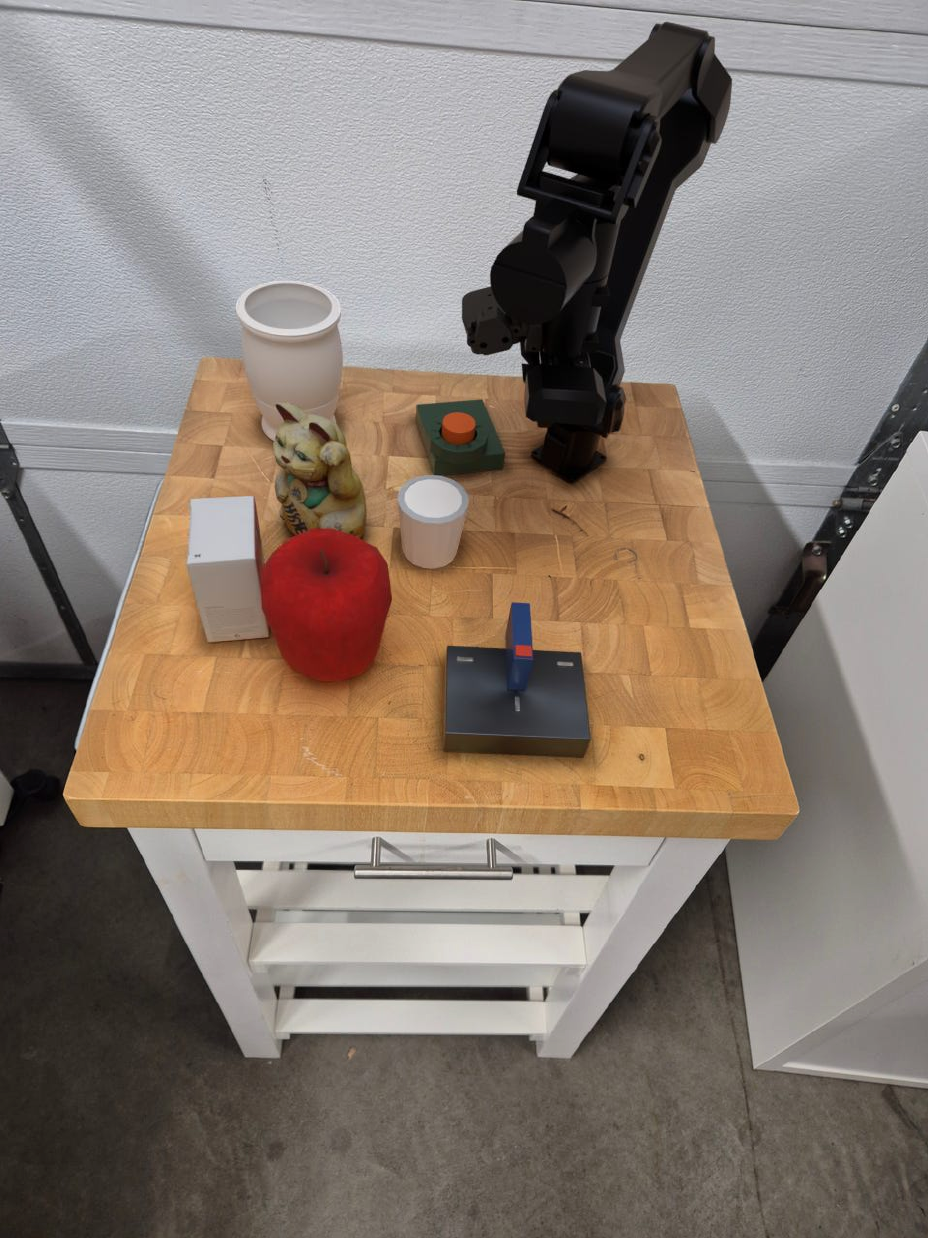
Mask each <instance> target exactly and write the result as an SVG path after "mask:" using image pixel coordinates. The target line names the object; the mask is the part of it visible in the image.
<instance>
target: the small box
mask: <svg viewBox="0 0 928 1238" xmlns="http://www.w3.org/2000/svg"><path fill="white" fill-rule="evenodd" d="M256 503H257V502H256V497H255V496H254V495H245V496H244V495H242V496H241V495H240V496H239V495H238V496H224V497H222V496H221V497H204V498H202V497H201V498H191V499H190V500H189V524H188V525H189V526H188V541H187V542H188V543H187V554H186V562H185V565H186V569H187V572H188V576H189V580H190V583H191V586H192V591H193V595H194V599H195V603H196V607H197V610H198V613H199V617H200V621H201V624H202V629H203V631H204V634H205V638H206V641H207V643H219V642H229V641H241V640H252V639H263V638H269V637H270V629H269V628H270V626H269V624H268V622H267V619H266V617H265V615H264V613H263V610H262V604H261V579H260V570H261V569H262V567H263V566H264V564H265V563H266V561H265V555H264V549H263V547H264V546H263V543H262V537H261V529H260V522H259V516H258V509H257V504H256Z"/></svg>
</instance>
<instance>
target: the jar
mask: <svg viewBox="0 0 928 1238" xmlns="http://www.w3.org/2000/svg"><path fill="white" fill-rule="evenodd" d="M235 312H236V313H235V314H236V318H237V320H238V322H239V324H240V325H241V337H240V339H241V340H240V341H241V342H240V345H241V347H240V348H241V356H242V364H243V369H244V373H245V376H246V379H247V382H248V384H249V387H250V390H251V394H252V397H253V401H254V403H255V405H256V407H257V409H258V411H259V413H260V415H262V418H261V429H262V431H263V433H264V434H265V435H266V437H268V439H269V440H272V441H273V442H274V441H275V436H276V433H277V431H278V429H279V427H280V426H281V424H282V423H283V422H284V420H283V418H282V416H281V415H280V413H279V412H278V410H277V408H276V404H278V403H281V402H284V403H291V404H294V405H297V406H298V407H300V408H301V409H302V410H303V411H304V412H305V413H307V414H313V415H319V416H322V417H325V418H327V419H329V420H331V421H332V422H334V423H335V424H336V425H337V418H336V417H335V411H336V409H337V407H338V403H339V399H340V391H341V386H342V385H341V384H342V378H343V369H344V355H343V354H344V353H343V344H342V338H341V334H340V330H339V326H338V325H339V323H340V321H341V316H342V306H341V303H340V301H339V300H338V298H337V297H336V295H334V294H333V293H332V292H331V291H329V290H328V289H326V288H324V287H323V286H322V287H321V286H320V285H317V284H313V283H310V282H305V281H299V280H274V281H269V282H264V283H260V284H256V285H255V286H253V287H250V288H248V289H246V290H245V291H244V292H243V293H242V294H241V295H240V296H239V297H238V299H237V301H236V304H235Z"/></svg>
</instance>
